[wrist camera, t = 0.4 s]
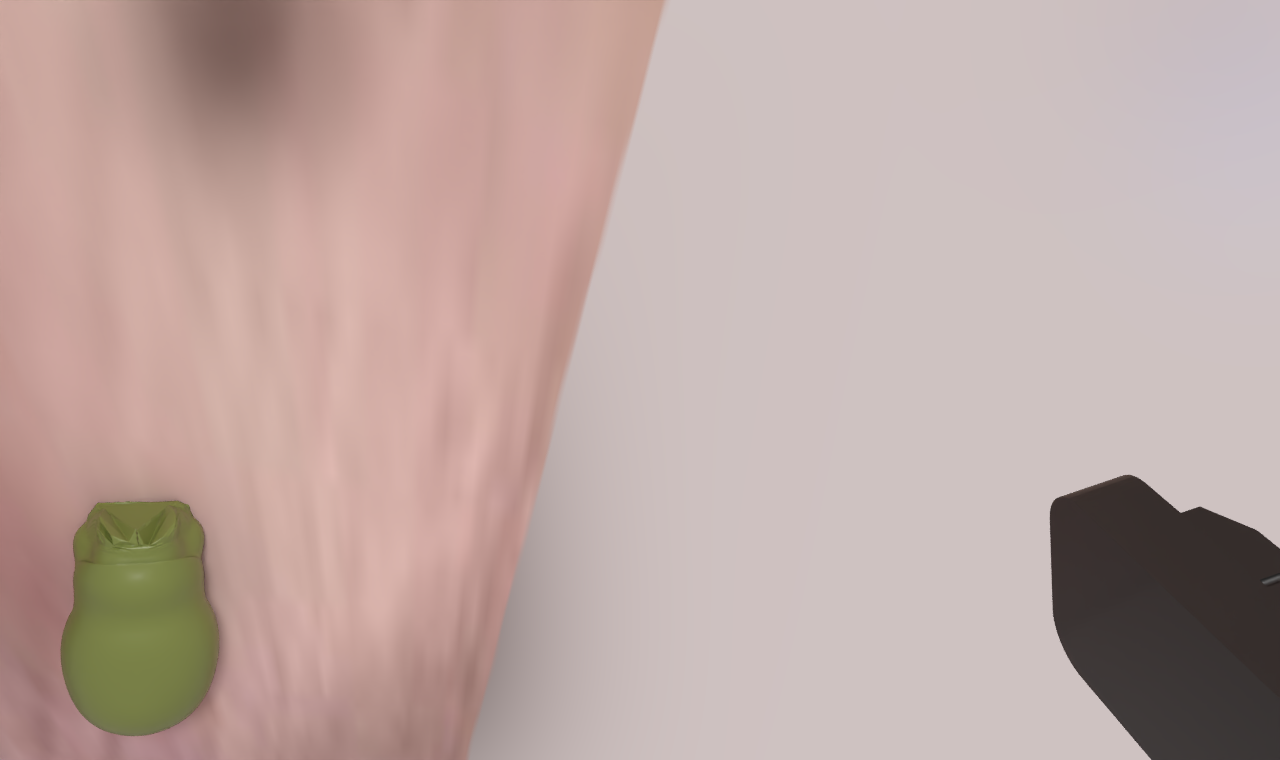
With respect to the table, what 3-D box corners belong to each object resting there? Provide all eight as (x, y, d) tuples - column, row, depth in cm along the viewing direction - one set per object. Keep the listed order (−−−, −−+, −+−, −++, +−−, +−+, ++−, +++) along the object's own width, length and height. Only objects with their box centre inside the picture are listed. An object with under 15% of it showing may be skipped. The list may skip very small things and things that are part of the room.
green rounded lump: (61, 773, 42) (44, 558, 38) (72, 675, 47) (58, 471, 42) (220, 754, 45) (222, 547, 40) (216, 661, 49) (218, 465, 44)
